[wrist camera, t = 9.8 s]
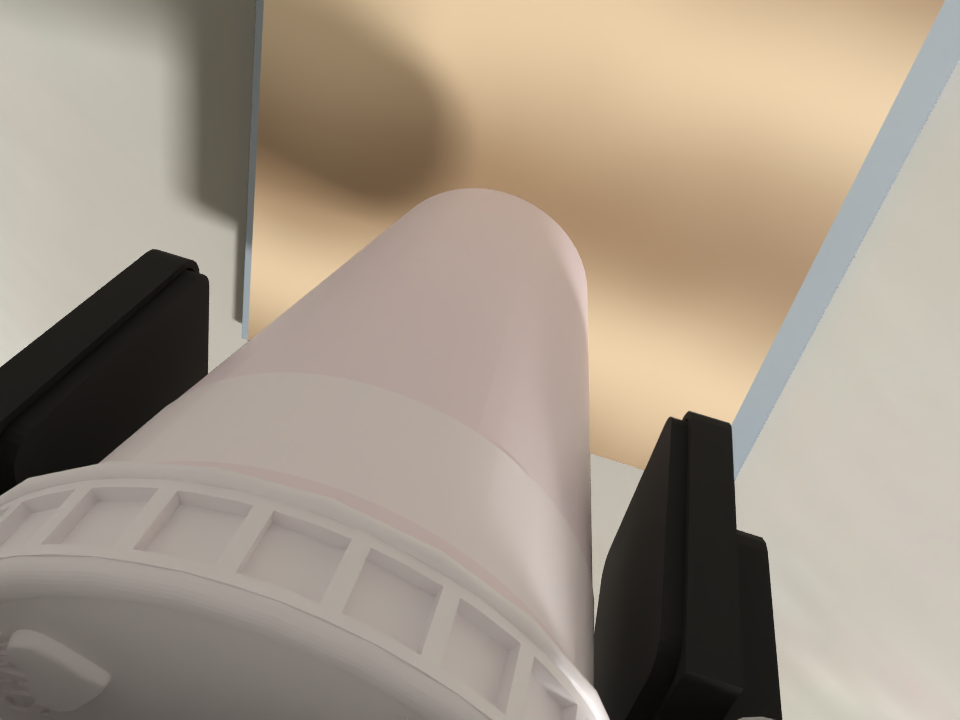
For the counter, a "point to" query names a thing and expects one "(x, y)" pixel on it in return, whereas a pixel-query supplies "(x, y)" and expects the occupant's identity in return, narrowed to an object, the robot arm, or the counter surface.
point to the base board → (945, 44)
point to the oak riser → (588, 160)
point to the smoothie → (338, 506)
